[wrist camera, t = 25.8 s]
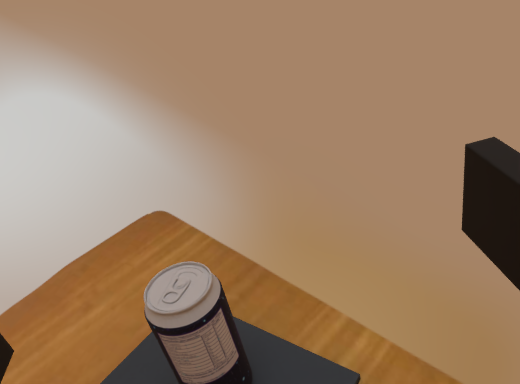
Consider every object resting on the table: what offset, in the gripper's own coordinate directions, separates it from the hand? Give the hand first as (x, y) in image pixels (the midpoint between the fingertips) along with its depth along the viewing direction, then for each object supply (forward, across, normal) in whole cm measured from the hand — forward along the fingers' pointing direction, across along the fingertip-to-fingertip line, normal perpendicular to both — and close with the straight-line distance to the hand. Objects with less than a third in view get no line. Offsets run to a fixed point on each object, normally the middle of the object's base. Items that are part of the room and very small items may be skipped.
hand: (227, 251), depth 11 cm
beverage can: (+14, -6, -25) cm, 29 cm away
